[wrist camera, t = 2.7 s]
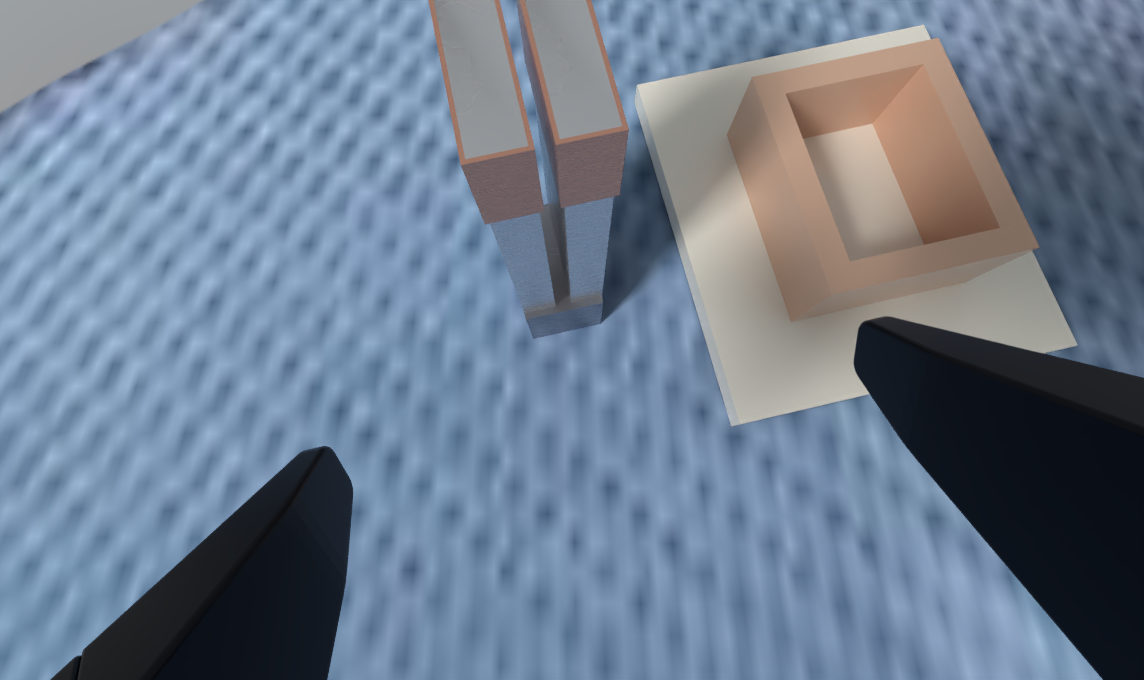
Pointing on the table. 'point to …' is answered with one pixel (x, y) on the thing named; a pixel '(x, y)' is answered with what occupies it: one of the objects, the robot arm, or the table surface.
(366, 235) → the table surface
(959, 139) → the holder
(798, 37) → the table surface
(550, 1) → the slotted copper-topped post
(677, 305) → the table surface
